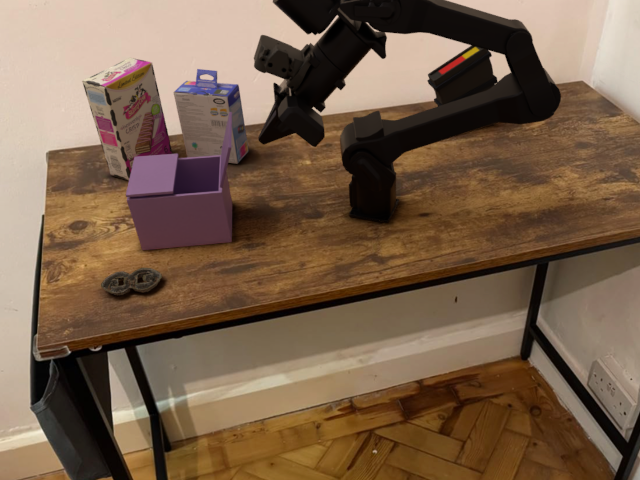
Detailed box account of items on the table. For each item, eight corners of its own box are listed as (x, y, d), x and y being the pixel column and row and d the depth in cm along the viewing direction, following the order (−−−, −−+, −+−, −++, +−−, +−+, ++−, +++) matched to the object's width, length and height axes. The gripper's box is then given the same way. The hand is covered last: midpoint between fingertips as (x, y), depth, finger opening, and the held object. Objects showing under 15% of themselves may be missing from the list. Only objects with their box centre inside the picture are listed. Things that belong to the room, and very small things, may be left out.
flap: (221, 150, 100) (224, 151, 100) (219, 187, 93) (222, 188, 93) (229, 111, 96) (232, 112, 97) (228, 146, 89) (231, 147, 89)
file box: (232, 203, 107) (222, 149, 100) (231, 242, 99) (220, 187, 93) (149, 210, 105) (134, 156, 99) (142, 250, 97) (124, 195, 91)
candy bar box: (133, 183, 111) (104, 86, 100) (110, 176, 113) (79, 80, 101) (175, 153, 119) (153, 60, 107) (153, 147, 120) (128, 55, 109)
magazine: (511, 115, 126) (488, 46, 115) (452, 153, 127) (424, 88, 116) (502, 107, 129) (479, 39, 118) (444, 144, 129) (416, 80, 118)
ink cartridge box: (250, 150, 119) (238, 69, 109) (239, 165, 116) (225, 82, 106) (199, 145, 121) (182, 64, 111) (186, 159, 117) (168, 77, 107)
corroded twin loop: (103, 279, 92) (101, 273, 92) (162, 270, 94) (160, 264, 93) (102, 301, 89) (99, 295, 88) (163, 291, 90) (161, 285, 90)
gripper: (282, -8, 90) (214, 78, 97) (289, 41, 77) (210, 137, 83) (342, 48, 97) (275, 125, 103) (358, 102, 83) (280, 187, 90)
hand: (260, 141), depth 95 cm, fingers closed
